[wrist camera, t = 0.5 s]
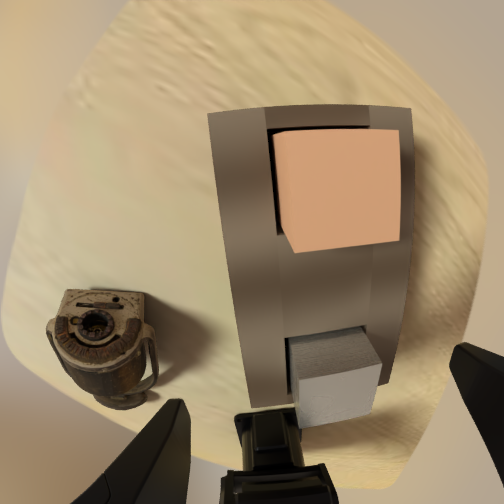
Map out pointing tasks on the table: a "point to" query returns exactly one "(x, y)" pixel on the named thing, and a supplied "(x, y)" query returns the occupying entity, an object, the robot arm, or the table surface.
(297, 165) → the terracotta plug
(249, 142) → the plug panel
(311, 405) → the aluminium plug
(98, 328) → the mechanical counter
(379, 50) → the table surface
